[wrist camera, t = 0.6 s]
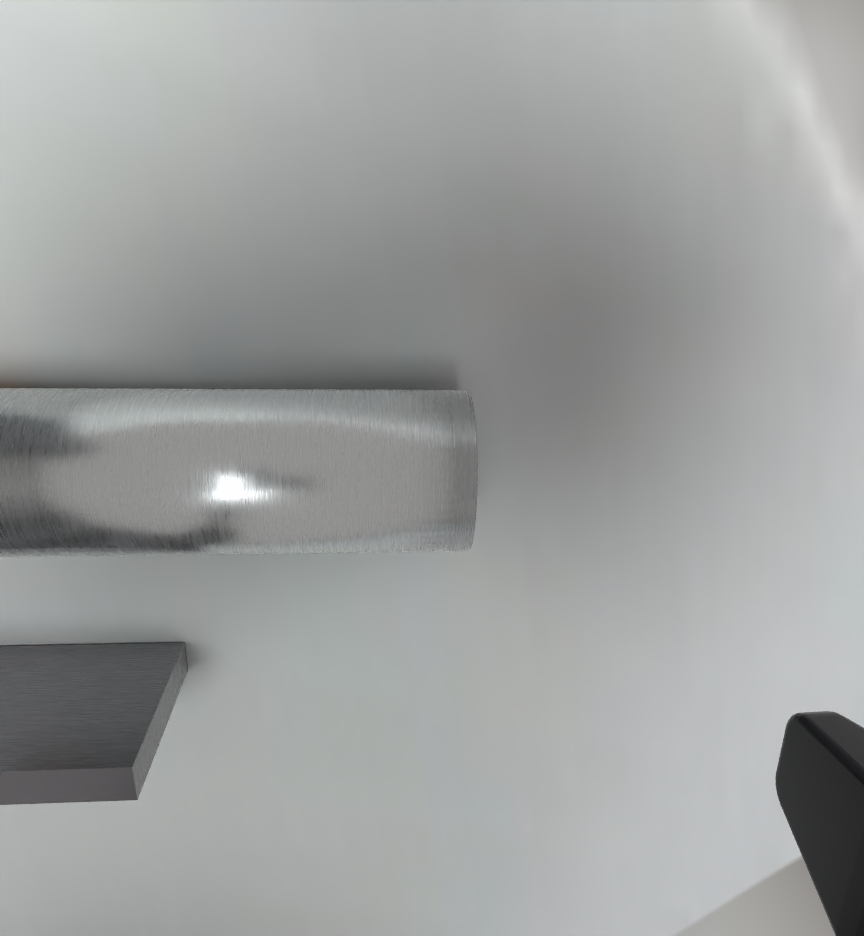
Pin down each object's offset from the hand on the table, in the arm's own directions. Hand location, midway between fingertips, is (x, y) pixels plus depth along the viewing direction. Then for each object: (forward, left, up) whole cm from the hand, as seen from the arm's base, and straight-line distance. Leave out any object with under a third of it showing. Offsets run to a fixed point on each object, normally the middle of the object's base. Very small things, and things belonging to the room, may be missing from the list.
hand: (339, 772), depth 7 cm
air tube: (-1, +4, -13) cm, 14 cm away
